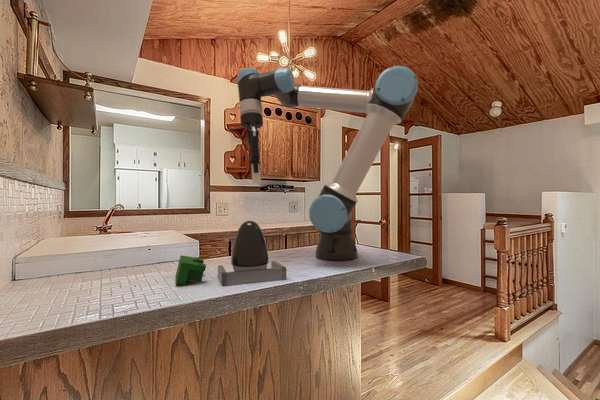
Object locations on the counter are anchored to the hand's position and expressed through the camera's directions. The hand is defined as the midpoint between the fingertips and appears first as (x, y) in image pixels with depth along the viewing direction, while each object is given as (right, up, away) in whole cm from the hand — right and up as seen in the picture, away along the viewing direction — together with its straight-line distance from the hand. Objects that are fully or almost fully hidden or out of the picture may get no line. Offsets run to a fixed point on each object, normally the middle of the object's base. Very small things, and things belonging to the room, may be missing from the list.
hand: (256, 182), depth 102 cm
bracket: (+2, -27, -21) cm, 34 cm away
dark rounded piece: (+1, -27, -19) cm, 33 cm away
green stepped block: (-14, -27, -23) cm, 38 cm away
